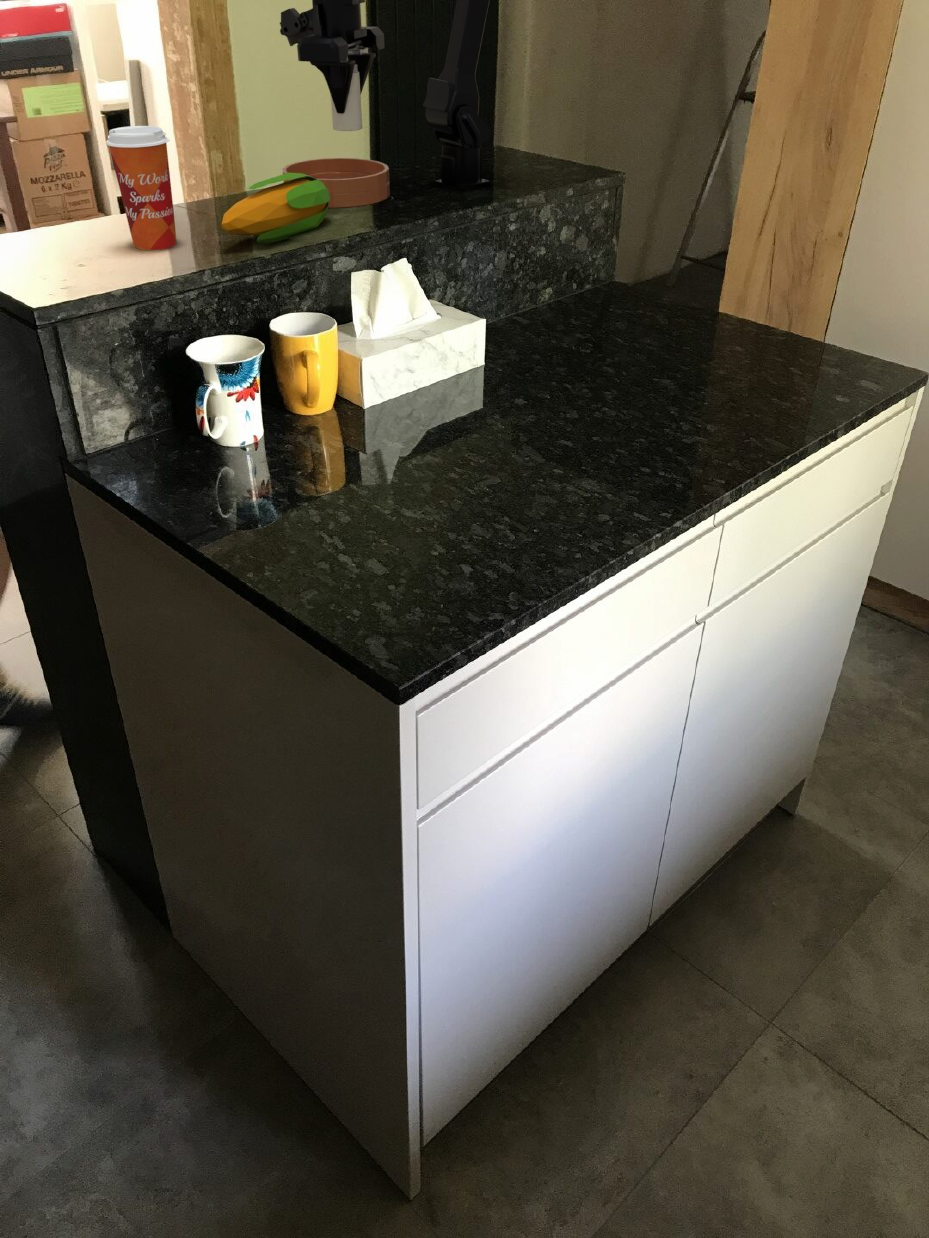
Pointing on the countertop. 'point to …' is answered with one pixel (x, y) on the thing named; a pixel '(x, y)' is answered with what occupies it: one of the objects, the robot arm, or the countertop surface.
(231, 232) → the corn
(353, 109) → the cylinder
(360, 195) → the bowl
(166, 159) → the paper cup
